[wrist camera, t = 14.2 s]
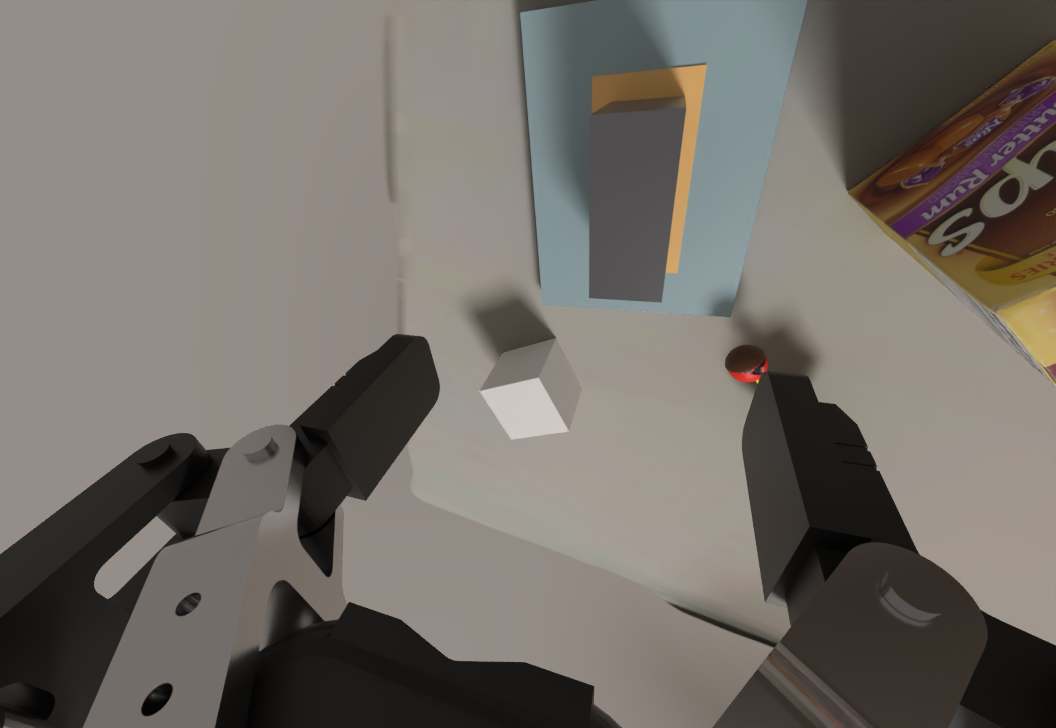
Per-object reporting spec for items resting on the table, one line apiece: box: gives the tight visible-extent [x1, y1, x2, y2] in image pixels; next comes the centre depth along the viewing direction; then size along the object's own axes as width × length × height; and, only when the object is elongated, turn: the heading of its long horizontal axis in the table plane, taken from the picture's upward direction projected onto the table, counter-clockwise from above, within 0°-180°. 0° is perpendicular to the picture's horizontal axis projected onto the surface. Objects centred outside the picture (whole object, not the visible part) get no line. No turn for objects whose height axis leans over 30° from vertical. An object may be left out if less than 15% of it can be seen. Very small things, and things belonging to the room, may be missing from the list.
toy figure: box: [725, 345, 768, 384], centre depth 30 cm, size 18×6×7 cm, turn 43°
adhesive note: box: [480, 338, 582, 439], centre depth 36 cm, size 6×6×6 cm
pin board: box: [520, 0, 808, 317], centre depth 25 cm, size 14×18×4 cm
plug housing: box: [589, 96, 686, 303], centre depth 22 cm, size 4×9×7 cm, turn 5°
